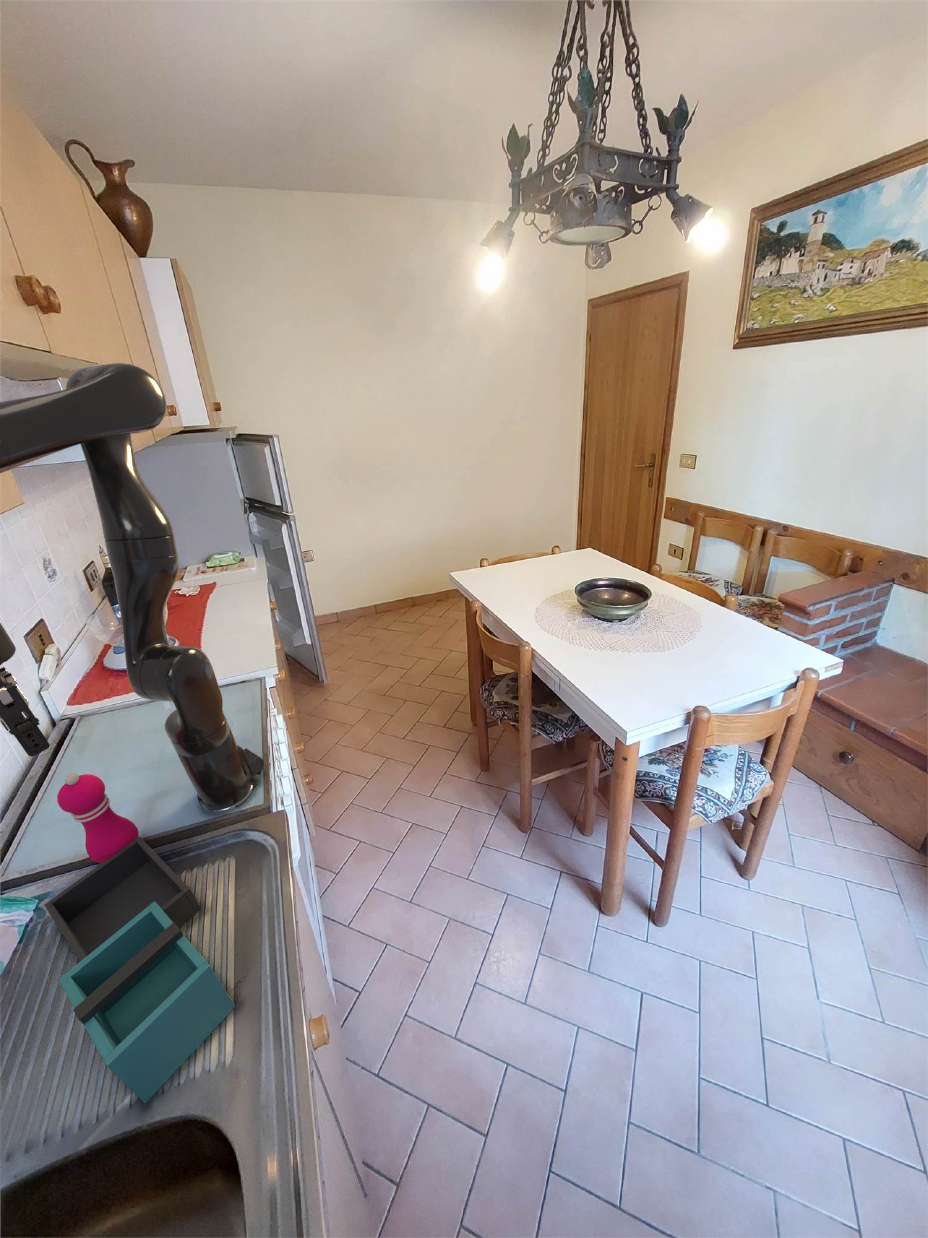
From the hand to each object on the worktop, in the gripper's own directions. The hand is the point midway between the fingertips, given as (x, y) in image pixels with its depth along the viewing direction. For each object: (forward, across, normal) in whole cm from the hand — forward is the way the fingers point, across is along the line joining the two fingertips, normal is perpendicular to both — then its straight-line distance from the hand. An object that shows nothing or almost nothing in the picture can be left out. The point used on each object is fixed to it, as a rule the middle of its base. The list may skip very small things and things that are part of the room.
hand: (28, 739), depth 63 cm
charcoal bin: (+33, -4, +2) cm, 33 cm away
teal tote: (+33, -21, +5) cm, 40 cm away
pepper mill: (+33, +9, -2) cm, 35 cm away
